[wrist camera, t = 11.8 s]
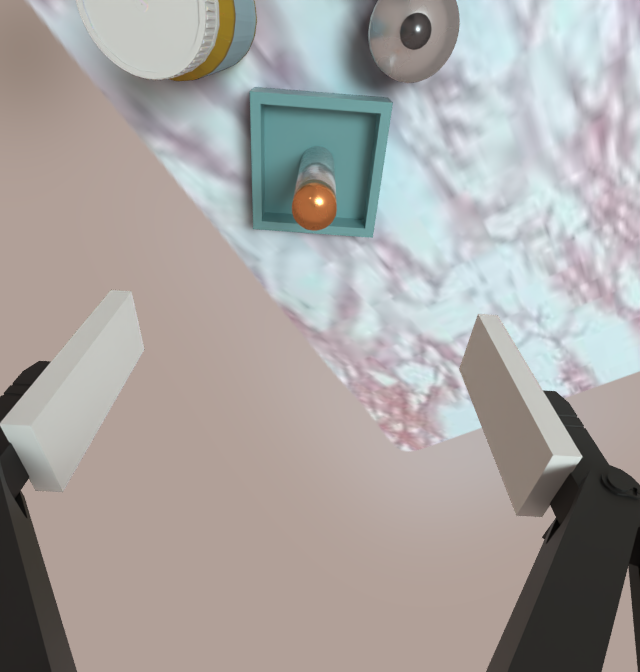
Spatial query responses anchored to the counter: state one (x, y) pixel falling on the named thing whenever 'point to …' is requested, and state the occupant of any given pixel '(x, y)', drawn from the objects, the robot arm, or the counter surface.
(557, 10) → the counter surface
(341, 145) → the tray
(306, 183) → the pin
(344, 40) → the counter surface
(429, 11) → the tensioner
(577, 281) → the counter surface
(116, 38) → the bottle
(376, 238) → the counter surface
